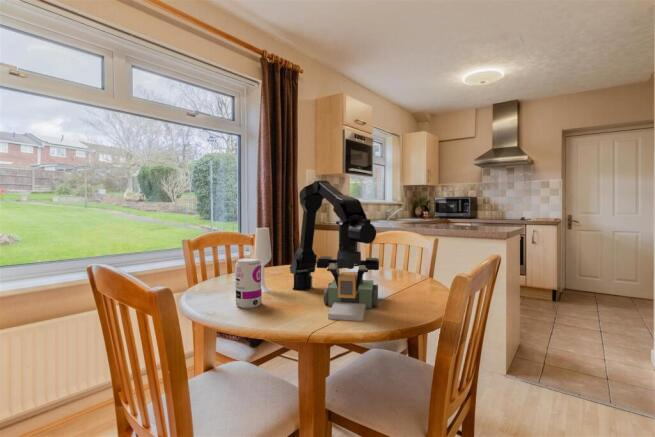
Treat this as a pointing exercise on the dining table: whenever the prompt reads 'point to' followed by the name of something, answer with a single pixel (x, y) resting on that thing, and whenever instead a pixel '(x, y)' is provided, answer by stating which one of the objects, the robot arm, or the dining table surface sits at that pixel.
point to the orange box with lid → (347, 284)
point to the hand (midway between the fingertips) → (348, 290)
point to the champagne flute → (263, 252)
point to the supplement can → (248, 282)
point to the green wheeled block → (351, 301)
